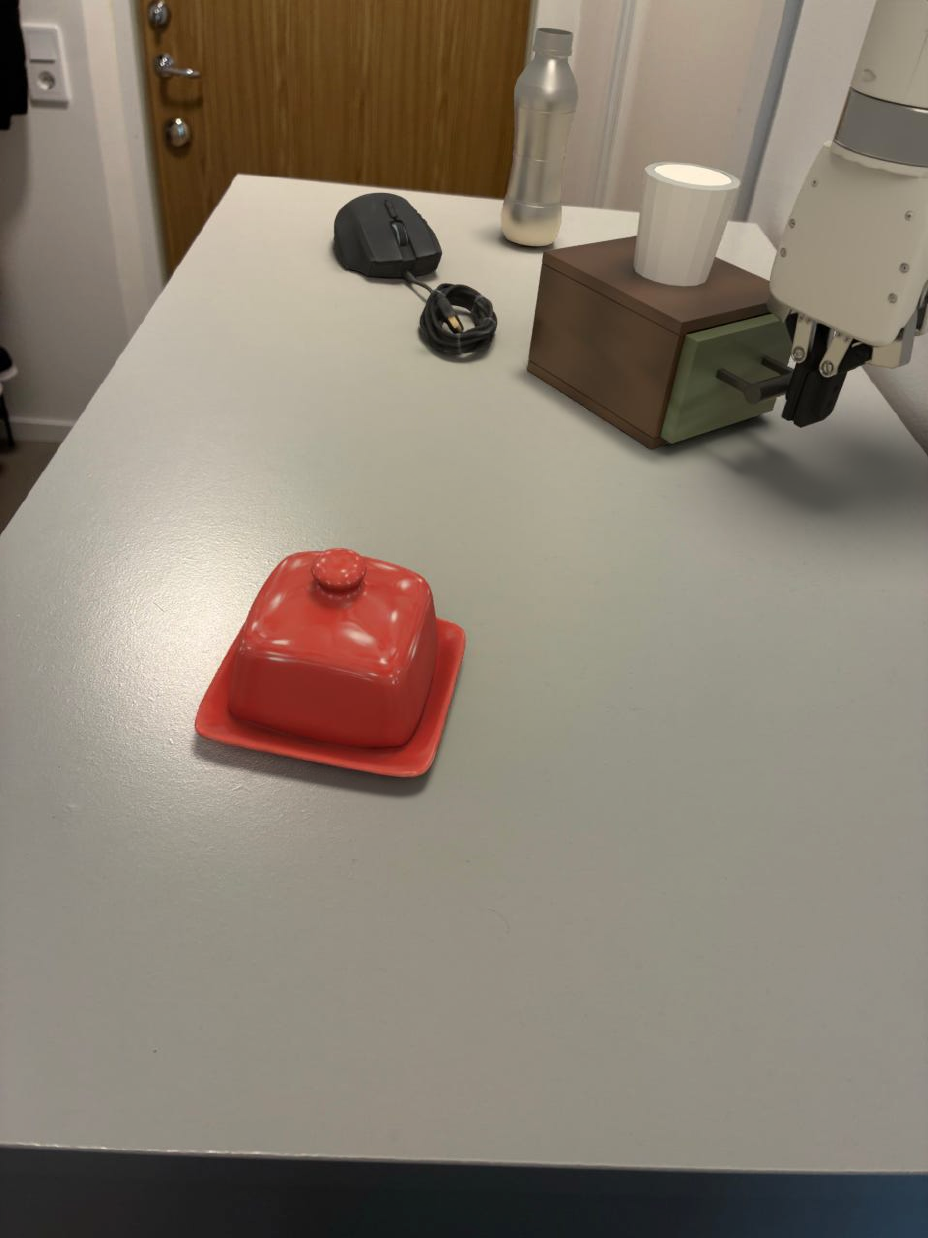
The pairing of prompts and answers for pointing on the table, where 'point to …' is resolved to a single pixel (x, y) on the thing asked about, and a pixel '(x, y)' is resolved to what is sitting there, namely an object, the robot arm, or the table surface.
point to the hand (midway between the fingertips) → (803, 418)
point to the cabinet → (626, 329)
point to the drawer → (728, 376)
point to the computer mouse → (410, 266)
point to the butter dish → (338, 667)
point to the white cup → (682, 221)
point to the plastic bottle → (540, 141)
